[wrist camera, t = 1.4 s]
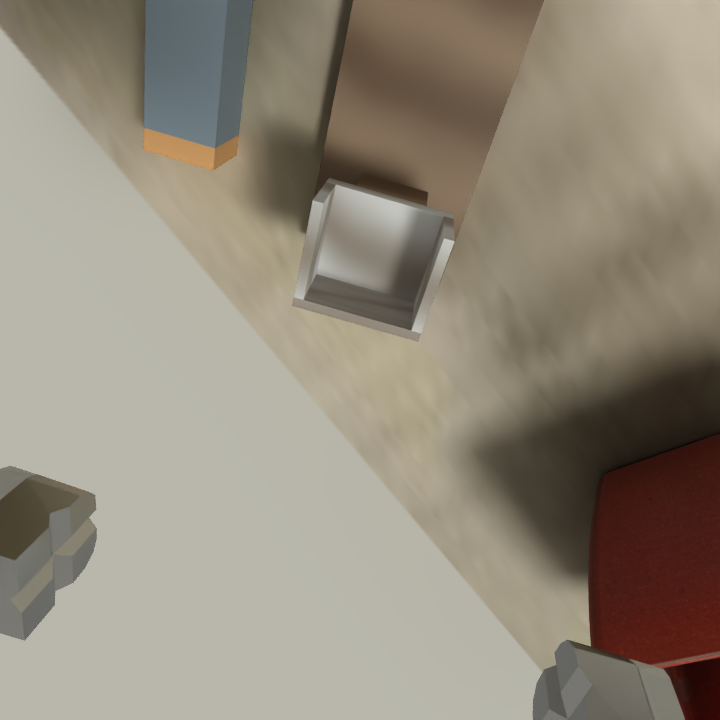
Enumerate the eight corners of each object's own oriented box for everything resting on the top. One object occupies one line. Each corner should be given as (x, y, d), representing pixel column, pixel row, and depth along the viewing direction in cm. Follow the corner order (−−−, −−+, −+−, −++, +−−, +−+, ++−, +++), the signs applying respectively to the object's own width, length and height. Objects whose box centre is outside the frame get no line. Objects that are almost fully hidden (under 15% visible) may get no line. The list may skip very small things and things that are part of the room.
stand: (402, -221, 23) (377, -357, 15) (597, -161, 23) (683, -260, 15) (310, 235, 35) (268, 303, 27) (440, 273, 35) (438, 352, 27)
